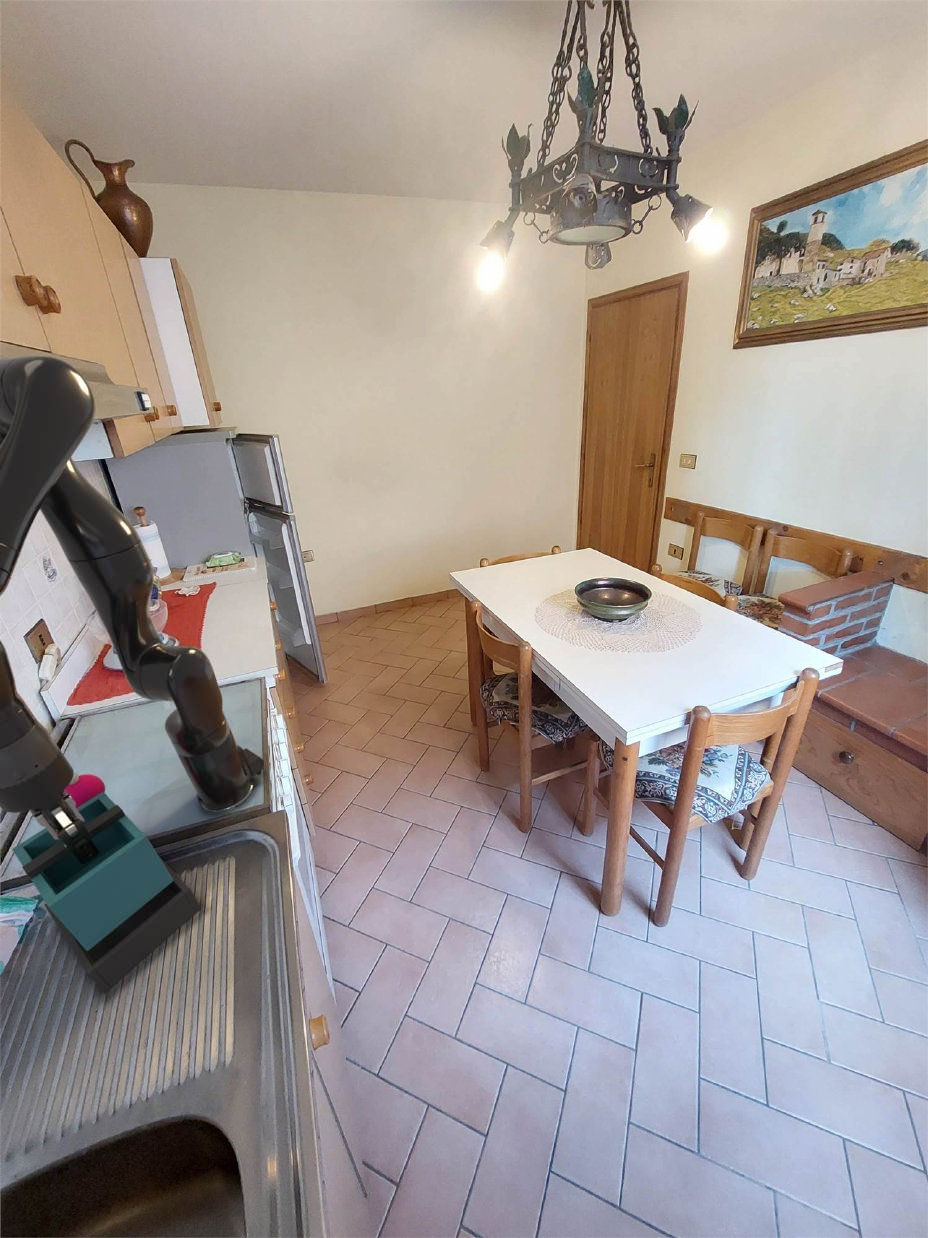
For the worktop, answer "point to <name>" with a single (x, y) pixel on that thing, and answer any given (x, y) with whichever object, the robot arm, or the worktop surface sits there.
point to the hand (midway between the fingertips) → (86, 853)
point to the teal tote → (95, 872)
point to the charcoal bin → (134, 934)
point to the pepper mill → (84, 788)
